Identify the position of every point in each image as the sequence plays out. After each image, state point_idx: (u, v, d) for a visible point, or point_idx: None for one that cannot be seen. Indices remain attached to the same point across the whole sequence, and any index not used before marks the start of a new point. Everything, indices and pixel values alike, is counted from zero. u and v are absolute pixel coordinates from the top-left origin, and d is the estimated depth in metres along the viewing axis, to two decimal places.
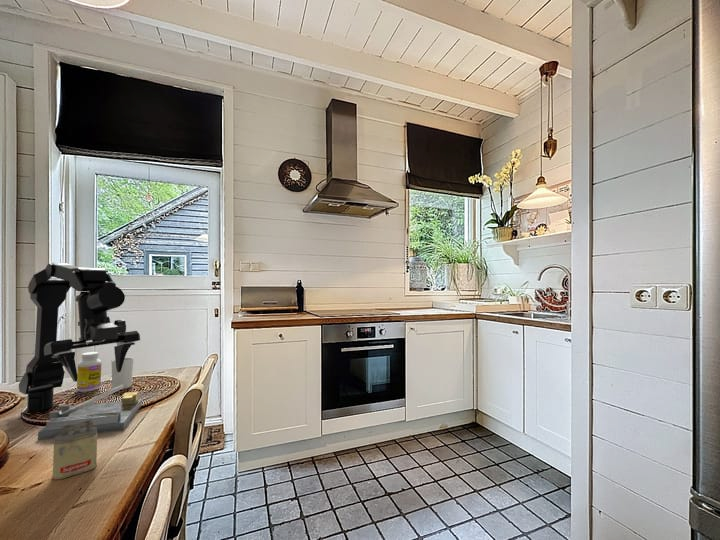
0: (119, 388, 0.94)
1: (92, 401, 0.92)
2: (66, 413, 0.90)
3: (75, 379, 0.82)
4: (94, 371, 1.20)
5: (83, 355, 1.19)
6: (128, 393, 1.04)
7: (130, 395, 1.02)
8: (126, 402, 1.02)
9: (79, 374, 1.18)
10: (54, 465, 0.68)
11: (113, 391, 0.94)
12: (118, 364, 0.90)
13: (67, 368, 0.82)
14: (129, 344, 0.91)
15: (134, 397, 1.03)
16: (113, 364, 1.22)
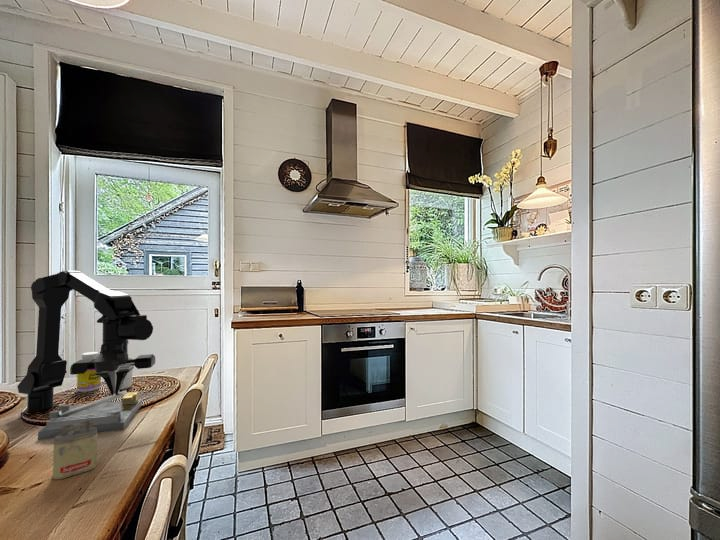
0: (122, 395, 0.95)
1: (94, 405, 0.92)
2: (66, 414, 0.90)
3: (111, 393, 0.95)
4: (94, 371, 1.20)
5: (83, 355, 1.19)
6: (128, 393, 1.04)
7: (130, 395, 1.02)
8: (126, 402, 1.02)
9: (79, 374, 1.18)
10: (54, 465, 0.68)
11: (116, 397, 0.94)
12: None
13: None
14: (121, 372, 0.94)
15: (134, 397, 1.03)
16: None
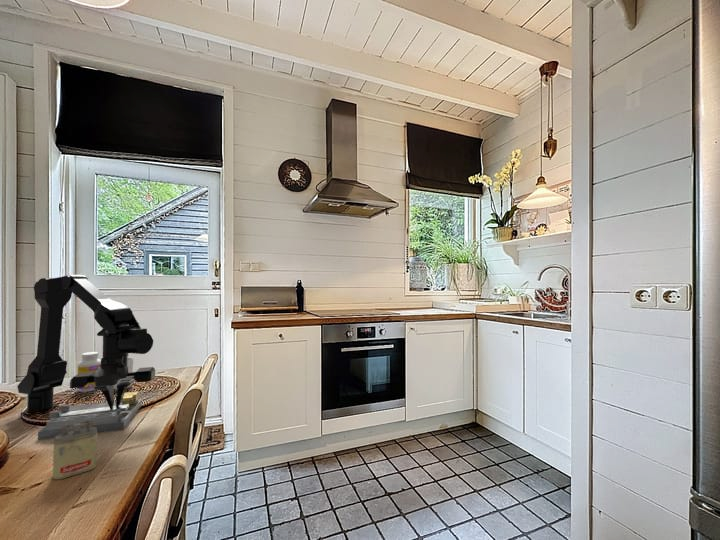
0: (124, 409, 0.95)
1: (95, 413, 0.92)
2: (67, 416, 0.90)
3: (110, 407, 0.94)
4: (94, 371, 1.20)
5: (83, 355, 1.19)
6: (128, 393, 1.04)
7: (130, 395, 1.02)
8: (126, 402, 1.02)
9: None
10: (54, 465, 0.68)
11: (118, 410, 0.94)
12: None
13: None
14: (122, 386, 0.93)
15: (134, 397, 1.03)
16: None
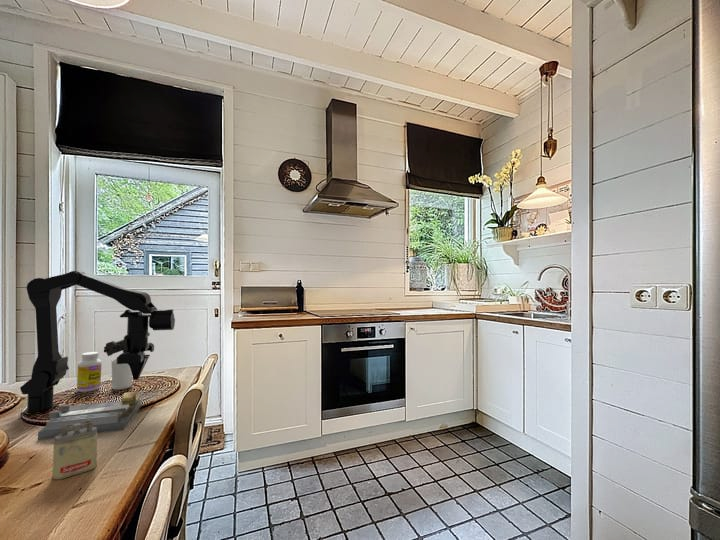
0: (124, 409, 0.95)
1: (95, 413, 0.92)
2: (67, 416, 0.90)
3: None
4: (94, 371, 1.20)
5: (83, 355, 1.19)
6: (128, 393, 1.04)
7: (130, 395, 1.02)
8: (126, 402, 1.02)
9: (79, 374, 1.18)
10: (54, 465, 0.68)
11: (118, 410, 0.94)
12: None
13: None
14: None
15: (134, 397, 1.03)
16: (113, 364, 1.22)
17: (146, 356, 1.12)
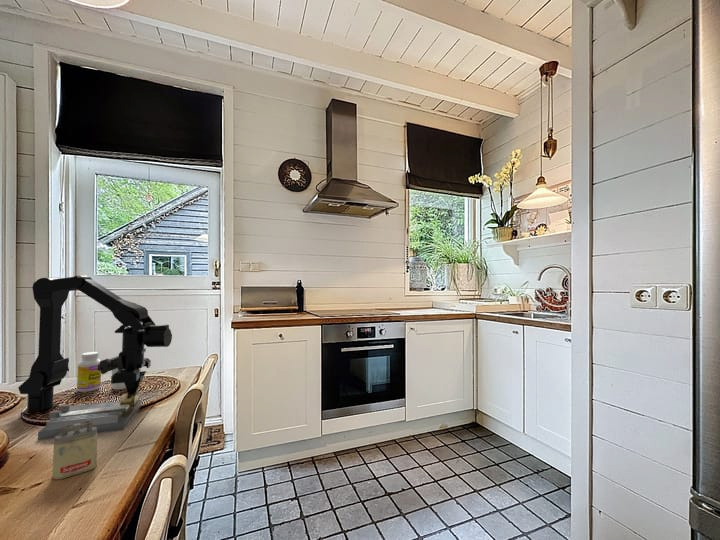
0: (124, 409, 0.95)
1: (95, 413, 0.92)
2: (67, 416, 0.90)
3: None
4: (94, 371, 1.20)
5: (83, 355, 1.19)
6: (127, 394, 1.03)
7: (129, 397, 1.01)
8: (125, 404, 1.01)
9: (79, 374, 1.18)
10: (54, 465, 0.68)
11: (118, 410, 0.94)
12: None
13: None
14: None
15: (133, 399, 1.01)
16: None
17: (142, 373, 1.07)
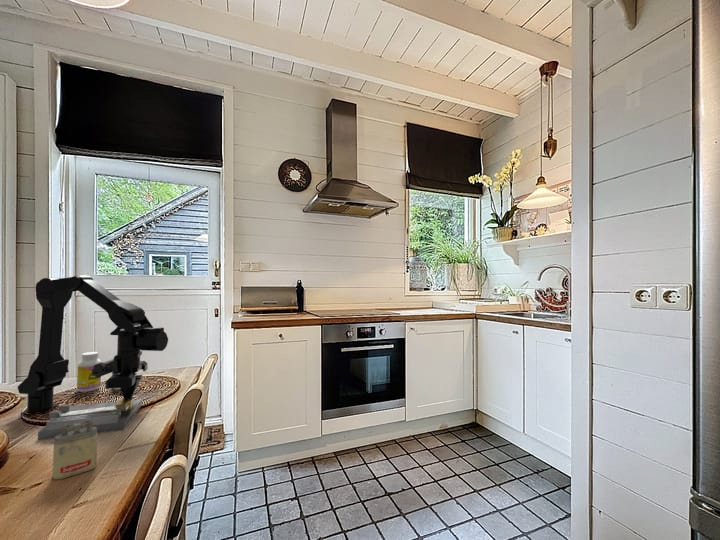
0: (124, 409, 0.95)
1: (95, 413, 0.92)
2: (67, 416, 0.90)
3: None
4: None
5: (83, 355, 1.19)
6: (122, 399, 0.99)
7: (124, 401, 0.97)
8: None
9: (79, 374, 1.18)
10: (54, 465, 0.68)
11: (118, 410, 0.94)
12: None
13: None
14: None
15: (129, 403, 0.98)
16: None
17: (138, 377, 1.03)
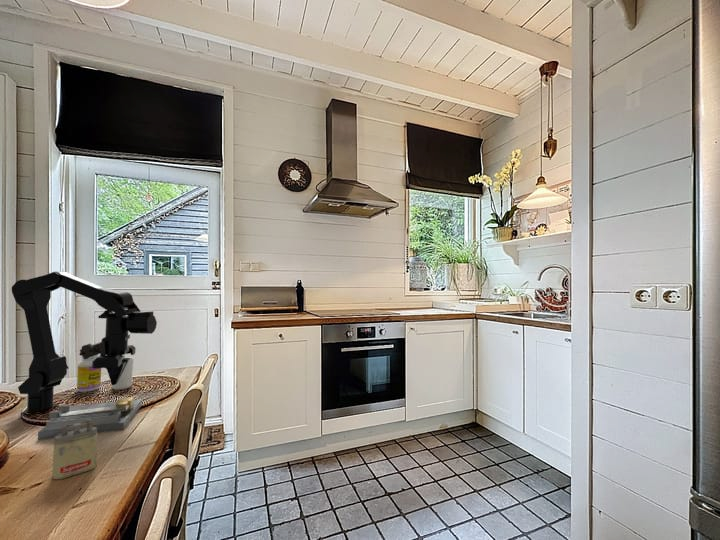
0: (124, 409, 0.95)
1: (95, 413, 0.92)
2: (67, 416, 0.90)
3: None
4: (94, 371, 1.20)
5: None
6: (123, 399, 0.99)
7: (125, 401, 0.97)
8: None
9: (79, 374, 1.18)
10: (54, 465, 0.68)
11: (118, 410, 0.94)
12: None
13: None
14: None
15: (129, 403, 0.98)
16: None
17: (126, 360, 1.06)
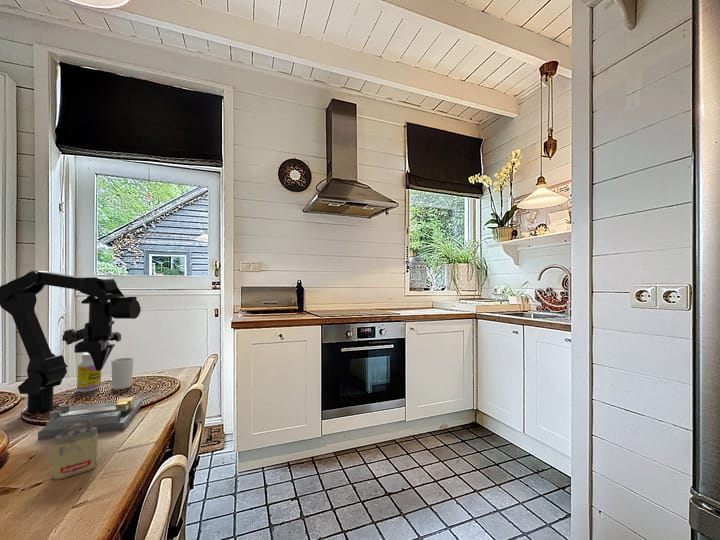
0: (124, 409, 0.95)
1: (95, 413, 0.92)
2: (67, 416, 0.90)
3: None
4: (94, 371, 1.20)
5: (83, 355, 1.19)
6: (123, 399, 0.99)
7: (125, 401, 0.97)
8: None
9: (79, 374, 1.18)
10: (54, 465, 0.68)
11: (118, 410, 0.94)
12: None
13: None
14: None
15: (129, 403, 0.98)
16: (113, 364, 1.22)
17: (110, 345, 1.05)
